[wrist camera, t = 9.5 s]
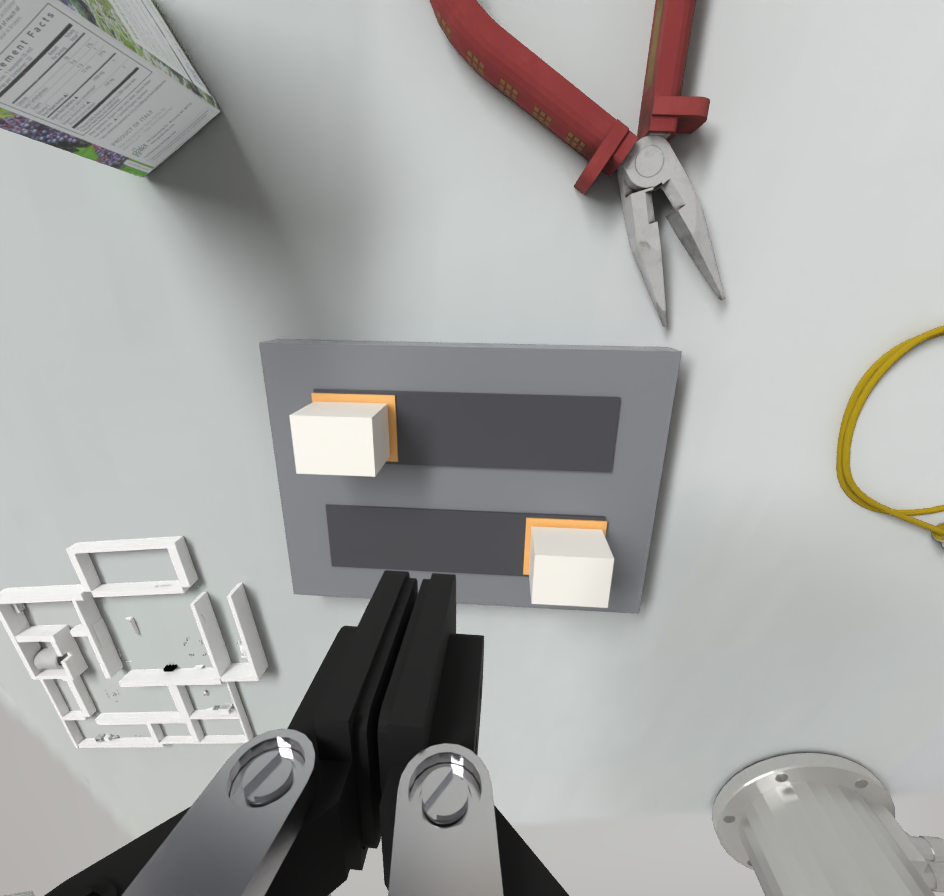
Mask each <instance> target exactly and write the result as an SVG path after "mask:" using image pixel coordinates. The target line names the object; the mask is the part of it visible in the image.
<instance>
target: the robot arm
mask: <svg viewBox="0 0 944 896" xmlns="http://www.w3.org/2000/svg"><path fill="white" fill-rule="evenodd" d="M483 656H484V636H480V635H466V634H456V575H455V574H440V573H432V575H431V579H423V580H422V583H421V586H420V589H419V592H418V582H417V579H416V578H410V574H409V572H407V571H391V570H385V571H384V573H383V575H382V577H381V579H380V581H379V583H378V585H377V587H376V589H375V591H374V593H373V596H372V598H371V600H370V602H369V604H368V606H367V608H366V610H365V612H364V614H363V616H362V619H361V621H360V623H359V625H358V627H354V626H344V627H342V628H341V629H340V631H339V632H338V634H337V636H336V638H335V640H334V642H333V643H332V645H331V647H330V649H329V651H328V653H327V655H326V657H325V659H324V660H323V662H322V664H321V666H320V668H319V670H318V672H317V674H316V676H315V677H314V679H313V681H312V683H311V685H310V687H309V689H308V691H307V693H306V694H305V696H304V698H303V700H302V702H301V704H300V706H299V708H298V710H297V712H296V713H295V715H294V717H293V719H292V721H291V723H290V725H289V727H288V729H278V730H273V731H268V732H265V733H263V734H261V735H258V736H256V737H254V738H252V739H251V740H249V741H248V742H247V743H245V744H244V745H242V746H241V747H240V748H239V749H238V750H237V751H236V752H235V753H234V754H233V755H232V756H231V757H230V758H229V759H228V760H227V761H226V763H225V764H224V765H223V767H222V768H221V769H220V770H219V772H218V773H217V774H216V776H215V777H214V778H213V779H212V781H211V782H210V783H209V784H208V786H207V787H206V788H205V790H204V791H203V792H202V793H201V795H200V796H199V797H198V798H197V800H196V801H195V802H194V804H193V805H192V806H191V807H189V808H187V809H186V810H184V811H182V812H181V813H179V814H177V815H176V816H174V817H172V818H170V819H169V820H167V821H165V822H164V823H162V824H160V825H159V826H157V827H155V828H154V829H152V830H150V831H149V832H147V833H145V834H144V835H142V836H140V837H138V838H137V839H135V840H133V841H132V842H130V843H128V844H127V845H125V846H123V847H122V848H120V849H118V850H117V851H115V852H113V853H112V854H110V855H108V856H106V857H105V858H103V859H101V860H100V861H98V862H96V863H95V864H93V865H91V866H90V867H88V868H86V869H85V870H83V871H81V872H80V873H78V874H76V875H74V876H73V877H71V878H69V879H68V880H66V881H65V882H63V883H62V884H60V885H59V886H57V887H56V888H55V889H53V890H52V891H51V892H49V893H47V894H46V895H45V896H331V892H333V891H334V890H335V889H336V888H337V887H339V886H340V885H341V884H342V883H343V882H344V881H346V880H347V877H348V873H349V870H350V869H355V870H362V869H363V865H364V861H365V858H366V854H367V850H368V848H377V847H378V845H379V842H380V839H381V838H382V853H383V867H384V881H385V885H386V887H387V889H388V891H389V892H388V896H569V895H568V894H567V892H566V891H565V890H564V889H563V888H562V886H561V885H560V884H559V883H558V882H557V880H556V879H555V878H554V877H553V876H552V874H551V873H550V872H549V871H548V869H547V868H546V867H545V866H544V865H543V863H542V862H541V861H540V860H539V859H538V857H537V856H536V855H535V854H534V853H533V851H532V850H531V849H530V848H529V846H528V845H527V844H526V843H525V842H524V840H523V839H522V838H521V837H520V836H519V835H518V833H517V832H516V831H515V830H514V828H513V827H512V826H511V825H510V823H509V822H508V821H507V820H506V819H505V817H504V816H503V815H502V814H501V813H500V811H499V810H498V809H497V808H496V807H495V805H494V801H493V792H492V784H491V780H490V776H489V772H488V770H487V768H486V766H485V765H484V763H483V762H482V760H481V758H479V757H478V756H477V753H478V739H479V726H480V713H481V699H482V682H483ZM712 820H713V824H714V829H715V831H716V833H717V836H718V838H719V840H720V843H721V845H722V846H723V848H724V849H725V850H726V852H727V853H728V854H729V855H730V856H731V857H733V858H734V859H735V860H736V861H737V862H739V863H741V864H743V865H744V866H746V867H748V868H750V869H753V870H754V871H755V873H756V876H757V878H758V880H759V882H760V885H761V887H762V889H763V892H764V894H765V896H935V895H934V893H933V892H932V891H935V892H944V840H943V839H941V838H938V837H925V836H919V837H912V836H910V835H909V834H907V833H906V832H905V831H903V829H902V828H901V827H900V825H899V824H898V823H897V821H896V820H895V808H894V804H893V801H892V799H891V796H890V795H889V793H888V792H887V791H886V789H885V788H884V787H883V785H882V784H881V783H880V781H879V780H878V779H877V778H876V777H875V776H874V775H873V774H872V773H871V772H870V771H869V770H867V769H866V768H864V767H862V766H861V765H859V764H858V763H855V762H853V761H850V760H848V759H845V758H842V757H838V756H833V755H828V754H820V753H795V754H787V755H782V756H777V757H773V758H770V759H767V760H764V761H761V762H758V763H756V764H754V765H752V766H750V767H748V768H746V769H744V770H743V771H741V772H740V773H738V774H737V775H735V776H734V777H733V778H732V779H731V780H730V781H729V782H728V783H727V784H726V785H725V786H724V787H723V788H722V790H721V791H720V793H719V794H718V796H717V797H716V800H715V803H714V806H713V811H712ZM5 896H35V895H34V893H33V891H29V892H23V893H18V894H12V895H5Z"/></svg>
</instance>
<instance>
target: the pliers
mask: <svg viewBox="0 0 944 896" xmlns="http://www.w3.org/2000/svg"><path fill="white" fill-rule="evenodd" d="M430 2H431V5H432V8H433V10H434V13H435V16H436V18H437V21H438V23H439V25H440V27H441V28H442V30H443V31H444V33H445V35H446V36H447V38H448V39H449V41H450V42H451V44H452V45H453V46H454V47H455V49H456V50H457V51H458V52H459V53H460V55H461V56H462V57H463V58H464V59H465V60H466V61H467V62H468V63H469V64H470V65H471V66H472V67H473V68H474V69H475V70H476V71H477V72H478V73H479V74H480V75H481V76H482V77H484V78H485V79H486V80H487V81H489V82H490V83H491V84H493V85H494V86H495V87H496V88H498V89H499V90H500V91H501V92H503V93H504V94H505V95H507V96H508V97H509V98H510V99H512V100H513V101H514V102H515V103H517V104H518V105H519V106H521V107H522V108H523V109H524V110H526V111H527V112H528V113H530V114H531V115H532V116H533V117H535V118H536V119H537V120H538V121H540V122H541V123H542V124H544V125H545V126H546V127H547V128H549V129H550V130H551V131H552V132H554V133H555V134H556V135H558V136H559V137H560V138H561V139H563V140H564V141H565V142H566V143H568V144H569V145H570V146H572V147H573V148H574V149H575V150H577V151H578V152H579V153H581V154H582V155H583V156H584V157H586V158H587V159H588V160H589V161H590V162H589V163H588V165H587V166H586V168H585V169H584V171H583V173H582V174H581V176H580V177H579V179H578V180H577V182H576V184H575V185H574V187H575V188H577V189H578V190H579V191H581V192H582V193H583V194H585V193H586V192H587V190H588V189H589V188H590V186H591V185H592V184H593V182H594V181H595V179H596V178H597V176H598V175H599V173H600V172H601V171H602V172H604V173H605V174H606V175H607V176H609V177H610V176H611V175H612V174H613V173H614V172H615V170H616V169H617V178H618V184H619V190H620V196H621V201H622V208H623V214H624V219H625V224H626V229H627V234H628V239H629V243H630V246H631V249H632V251H633V254H634V256H635V259H636V261H637V264H638V266H639V269H640V271H641V273H642V276H643V278H644V281H645V283H646V286H647V288H648V291H649V293H650V296H651V298H652V300H653V303H654V305H655V308H656V310H657V313H658V315H659V318H660V320H661V322H662V325H663V326H667V317H666V304H665V292H664V279H663V267H662V254H661V245H660V237H659V228H658V221H657V222H655V218H654V210H653V202H652V195H651V193H652V192H653V191H656V190H663V191H664V192H665V194H666V196H667V197H668V199H669V201H670V202H671V204H672V208H671V211H670V212H669V214H668V215H667V216H666V218H667V220H668V221H669V223H670V225H671V226H672V228H673V230H674V231H675V233H676V235H677V236H678V238H679V240H680V241H681V243H682V244H683V246H684V247H685V249H686V250H687V251H688V253H689V254H690V256H691V257H692V259H693V260H694V262H695V263H696V265H697V266H698V268H699V269H700V271H701V272H702V274H703V275H704V277H705V278H706V280H707V281H708V283H709V284H710V286H711V287H712V289H713V290H714V292H715V293H716V295H717V296H718V298H719V299H720V300H724V299H725V296H724V292H723V288H722V284H721V281H720V277H719V273H718V269H717V265H716V261H715V257H714V253H713V249H712V245H711V241H710V237H709V233H708V229H707V225H706V221H705V217H704V213H703V209H702V207H701V204H700V201H699V199H698V197H697V195H696V193H695V191H694V188H693V186H692V184H691V182H690V180H689V178H688V176H687V175H686V173H685V171H684V169H683V167H682V165H681V164H680V162H679V160H678V158H677V157H676V155H675V153H674V151H673V150H672V148H671V146H670V144H669V143H668V142H669V141H670V140H671V139H672V138H673V136H674V135H675V133H686V134H691V133H693V132H694V131H695V130H696V129H698V128H699V127H700V126H701V125H702V124H703V123H705V122H706V120H707V115H708V110H709V104H710V100H709V99H708V98H705V97H689V96H680V95H681V89H682V83H683V77H684V71H685V64H686V58H687V52H688V46H689V40H690V33H691V27H692V21H693V15H694V9H695V2H696V0H656V3H655V10H654V17H653V25H652V32H651V39H650V46H649V53H648V61H647V68H646V75H645V82H644V89H643V96H642V104H641V111H640V118H639V126H638V134H637V136H636V135H635V134H633V133H632V132H631V131H629V128H628V127H627V126H626V125H624V124H623V123H622V122H621V121H619V120H618V119H617V120H616V119H615V118H614V117H612V116H611V115H610V114H609V113H607V112H606V111H605V110H604V109H602V108H601V107H600V106H599V105H597V104H596V103H595V102H594V101H592V100H591V99H590V98H589V97H587V96H586V95H585V94H584V93H583V92H581V91H580V90H579V89H578V88H576V87H575V86H574V85H573V84H571V83H570V82H569V81H568V80H566V79H565V78H564V77H563V76H561V75H560V74H559V73H558V72H556V71H555V70H554V69H553V68H552V67H550V66H549V65H548V64H547V63H545V62H544V61H543V60H542V59H540V58H539V57H538V56H537V55H535V54H534V53H533V52H532V51H530V50H529V49H528V48H527V47H525V46H524V45H523V44H522V43H521V42H519V41H518V40H517V39H516V38H514V37H513V36H512V35H511V34H509V33H508V32H507V31H506V30H504V29H503V28H502V27H501V26H499V25H498V24H497V23H496V22H495V21H494V20H493V19H492V18H491V17H490V16H489V15H488V14H487V13H486V12H485V10H484V9H483V8H482V7H481V6H480V5H479V4H478V2H477V1H476V0H430ZM635 142H636V143H635ZM653 188H654V189H653Z"/></svg>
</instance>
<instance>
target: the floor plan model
mask: <svg viewBox="0 0 944 896" xmlns="http://www.w3.org/2000/svg"><path fill="white" fill-rule="evenodd" d="M163 548H167V549H168V552H169V554H170V557H171V560H172V563H173V565H174V568H175V571H176V574H177V576H178V579H179V580H171V581H151V582H132V583H112V584H101V582H100V580H99V577H98V575H97V573H96V570H95V568H94V566H93V563H92V561H91V559H90V556H89V554H88V553H94V552H111V551H128V550H145V549H163ZM66 551H67V553H68V555H69V557H70V560H71V562H72V564H73V566H74V568H75V571H76V573H77V575H78V577H79V580H80V582H81V584H76V585H57V586H38V587H18V588H5V589H4V590H2V591H0V620H1V621H2V623H3V625H4V627H5V629H6V631H7V633H8V635H9V636H10V638H11V640H12V642H13V644H14V646H15V648H16V650H17V651H18V653H19V655H20V657H21V659H22V661H23V663H24V665H25V666H26V668H27V670H28V672H29V674H30V676H31V678H32V680H37V679H40V680H41V682H42V684H43V686H44V688H45V690H46V692H47V694H48V696H49V698H50V699H51V701H52V703H53V705H54V707H55V709H56V711H57V713H58V715H59V717H60V718H61V720H62V722H63V724H64V726H65V728H66V730H67V732H68V734H69V736H70V737H71V739H72V741H73V743H74V745H75V747H76V748H98V747H106V748H115V747H164V746H165V745H166V744H210V743H247V742H248V741H249V740H251V739H252V738H253V733H252V730H251V727H250V724H249V721H248V719H247V716H246V713H245V710H244V708H243V705H242V702H241V699H240V696H239V693H238V691H237V688H236V685H235V682H234V681H259V680H260V678H261V677H262V675H263V673H264V672H265V670H266V669H267V667H268V663H267V660H266V656H265V653H264V650H263V647H262V644H261V640H260V637H259V634H258V631H257V628H256V624H255V621H254V618H253V615H252V612H251V609H250V605H249V602H248V599H247V596H246V593H245V589H244V586H243V583H238V584H237V585H236V587H235V588H234V589H233V590H232V591H231V592H230V593H229V594H228V595H227V598H228V601H229V604H230V607H231V610H232V613H233V616H234V619H235V622H236V625H237V628H238V631H239V634H240V637H241V640H242V641H238V642H237V643H239V646H240V649H241V651H242V652H243V653H244V655H245V656H242V655H243V653H242V652H241V657H247V658H248V661H249V663H231V660H230V657H229V654H228V652H227V649H226V646H225V643H224V640H223V637H222V634H221V631H220V628H219V626H218V623H217V620H216V617H215V614H214V611H213V608H212V605H211V602H210V600H209V597H208V594H207V592H202V593H201V594H200V595H199V596H198V597H197V598H196V599H195V600H194V601H193V602H192V603H191V604H190V606H191V608H192V611H193V614H194V616H195V619H196V622H197V625H198V627H199V630H200V633H201V636H202V638H203V641H204V644H205V647H206V649H207V652H208V655H209V658H210V660H211V663H212V666H213V667H209V668H202V667H203V665H196V666H195V667H194V668H176V667H177V665H175V666H174V665H172V666H171V665H169V666H168V664H167V665H166V666H165V668H164V669H143V670H130V671H129V672H128V673H127V674H126V675H125V676H124V677H123V678H122V679H121V680H120V681H119V684H120V686H121V687H135V686H168V688H169V691H170V693H171V695H172V698H173V700H174V703H175V705H176V708H177V710H178V711H176V712H126V713H101V714H100V715H99V716H98V717H97V718H96V719H95V721H96V723H97V725H121V724H147V727H148V729H149V731H150V733H151V736H152V737H145V738H119V735H113V736H112V734H106V735H105V734H99V735H98V736H97V737H96V738H83V736H82V734H81V733H80V731H79V729H78V727H77V725H76V723H75V721H74V720H86V719H87V718H88V717H91V716H92V715H93V714H94V713H95V712H96V711H97V710H96V708H95V706H94V703H93V701H92V699H91V697H90V695H89V693H88V691H87V689H86V687H85V685H84V683H83V681H82V679H81V677H80V674H82V673H83V672H84V671H85V670H86V669H87V668H88V666H87V664H86V662H85V660H84V658H83V656H82V654H81V652H80V649H79V647H78V645H77V643H76V641H75V639H74V637H80V636H88V639H89V641H90V643H91V645H92V648H93V650H94V652H95V655H96V657H97V659H98V662H99V664H100V666H101V668H102V671H103V673H104V675H105V678H106V679H107V678H112V677H113V676H114V675H115V674H116V673H117V672H118V671H119V670H120V669H121V668H122V667H124V666H123V664H122V662H121V660H120V657H121V654H120V653H119V654H120V657H119V655H118V653H117V651H116V648H115V646H114V644H113V642H112V638H111V636H110V634H109V631H108V629H107V627H106V625H105V622H104V620H103V618H102V617H101V615H100V612H99V610H98V608H97V606H96V603H95V601H94V599H93V597H112V596H133V595H155V594H176V593H185V592H186V591H187V590H188V589H189V588H190V587H191V586H192V585H193V584H194V583H195V582H196V581H197V580H198V576H197V574H196V571H195V568H194V565H193V562H192V559H191V556H190V554H189V551H188V548H187V545H186V542H185V539H184V536H174V537H158V538H142V539H126V540H109V541H93V542H77V543H75V544H74V545H72V546H70V547H68V548H67V549H66ZM198 587H199V586H198ZM92 595H93V597H92ZM55 601H72V602H73V604H74V607H75V609H76V611H77V613H78V616H79V618H80V620H81V623H82V625H76V626H75V627H74V628H73V629H71V630H70V628H69V626H68V624H67V625H39V626H30V625H29V623H28V621H27V619H26V617H25V615H24V613H23V610H25V609H26V607H25V606H24V604H23V603H34V602H55ZM126 619H128V620H129V621H130V623H131V625H132V627H133V629H134V631H135V632H136V634H137V636H138V635H139V634H140V633H139V630H138V628H137V626H136V623H135V621H134V618H133V617H127V618H126ZM187 639H189V638H187ZM187 639H186V641H188V640H187ZM40 641H43V642H51V644H52V646H53V648H43V649H42V648H41V646H40V644H39V642H40ZM199 641H200V642H201V643H202V641H201V640H199ZM184 643H187V642H184ZM184 643H183V645H184V646H185V644H184ZM118 651H119V649H118ZM119 652H120V651H119ZM66 653H67V654H68V656H67V657H66V658H65V659H64V660H62V661H61V664H58V662H57V659H58V656H63V655H64V654H66ZM189 655H190V656H193V655H194V654H193V655H191V654H189ZM205 655H206V652H205ZM205 655H204V654H203V656H205ZM124 662H128V661H124ZM129 662H132V661H129ZM175 668H176V669H175ZM54 679H61V680H62V681H65V680H66V681H67V683H68V685H69V687H70V689H71V691H72V693H73V695H74V697H75V699H76V701H77V703H78V705H79V707H80V709H81V711H69V709H68V707H67V705H66V703H65V701H64V699H63V697H62V695H61V693H60V691H59V689H58V687H57V685H56V683H55V681H54ZM223 682H226V683H227V686H228V689H229V694H230V696H231V699H232V702H233V704H222V705H221V706H215V707H214V708H208V709H207V710H194V708H193V705H192V703H191V700H190V698H189V695H188V693H187V690H186V688H185V685H214V684H222V683H223ZM110 687H111V686H110ZM105 691H106V690H105ZM117 691H118V690H117ZM207 692H208V691H206V690H204V696H205V695H209V692H208V694H207ZM118 694H119V693H118ZM107 695H108V693H107ZM114 695H116V694H115V693H112V696H114ZM108 697H109V696H108ZM109 698H110V697H109ZM116 702H117V701H116ZM198 719H239V720H240V723H241V726H242V728H243V731H244V734H245V735H207V736H204V734H203V731H202V729H201V726H200V724H199V721H198ZM159 723H162V724H163V723H186V724H187V727H188V729H189V732H190V734H191V736H164V734H163V732H162V730H161V727H160V725H159ZM135 736H141V735H135Z"/></svg>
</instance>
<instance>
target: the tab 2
mask: <svg viewBox="0 0 944 896" xmlns="http://www.w3.org/2000/svg"><path fill="white" fill-rule="evenodd" d="M613 564H614V557H613V555H612V552H611V550H610V548H609V545H608V543H607V540H606V538H605V536H604V533H603V531H602V530H601V529H578V528H556V527H534V526H531V541H530V557H529V581H530V592H531V603H532V604H545V605H563V606H581V607H599V608H608V601H609V594H610V587H611V579H612V572H613Z"/></svg>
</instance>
